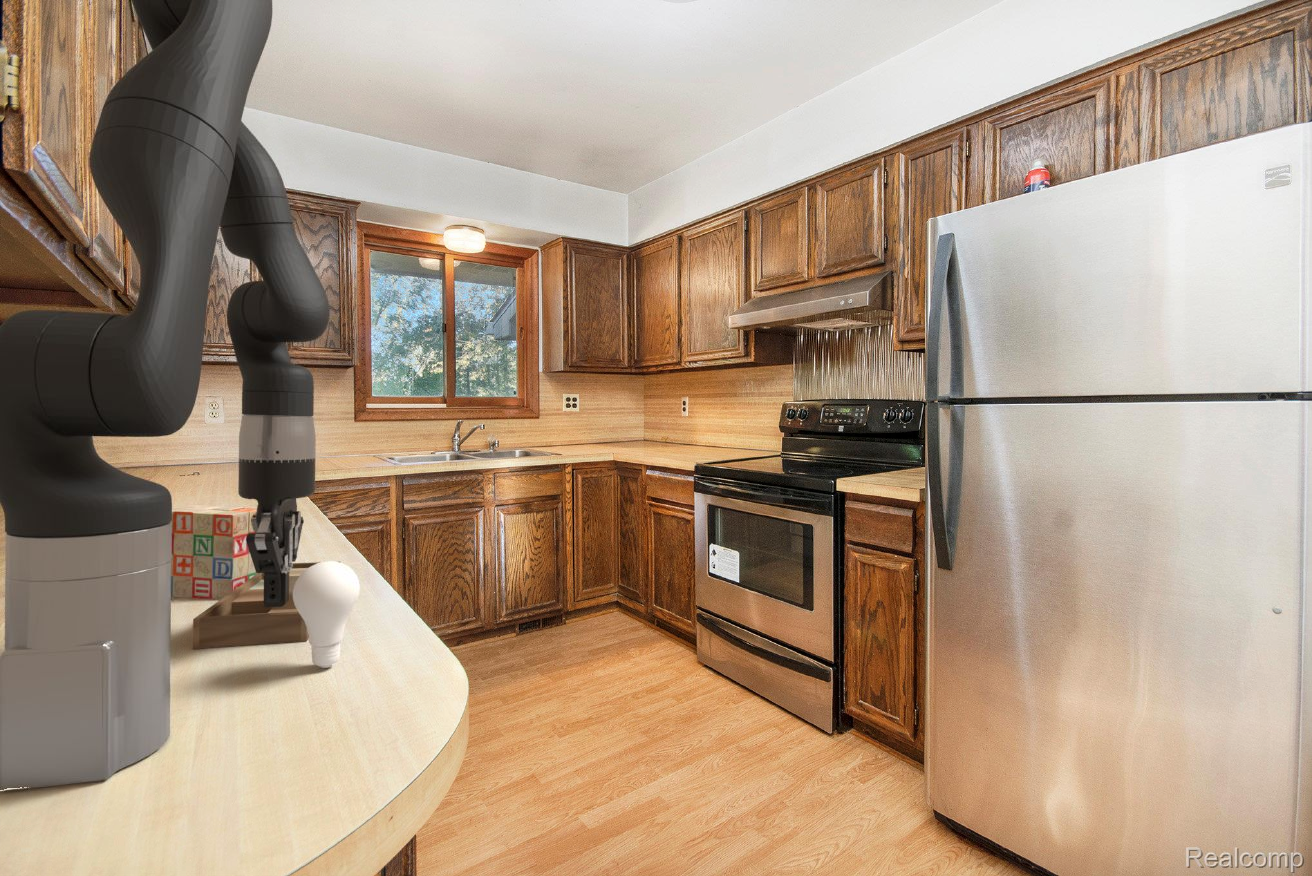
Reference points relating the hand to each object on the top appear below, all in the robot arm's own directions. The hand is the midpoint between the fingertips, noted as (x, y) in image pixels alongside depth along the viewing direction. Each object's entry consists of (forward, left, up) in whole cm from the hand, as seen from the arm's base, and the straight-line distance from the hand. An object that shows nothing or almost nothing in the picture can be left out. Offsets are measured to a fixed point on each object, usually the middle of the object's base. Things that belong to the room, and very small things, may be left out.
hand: (276, 604), depth 71 cm
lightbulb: (-10, -7, -4) cm, 13 cm away
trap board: (+9, +2, -4) cm, 11 cm away
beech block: (+6, 0, -2) cm, 6 cm away
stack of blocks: (+25, +19, -5) cm, 32 cm away
